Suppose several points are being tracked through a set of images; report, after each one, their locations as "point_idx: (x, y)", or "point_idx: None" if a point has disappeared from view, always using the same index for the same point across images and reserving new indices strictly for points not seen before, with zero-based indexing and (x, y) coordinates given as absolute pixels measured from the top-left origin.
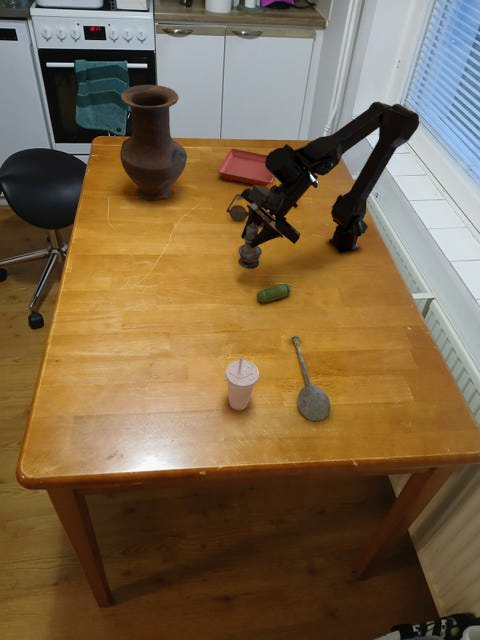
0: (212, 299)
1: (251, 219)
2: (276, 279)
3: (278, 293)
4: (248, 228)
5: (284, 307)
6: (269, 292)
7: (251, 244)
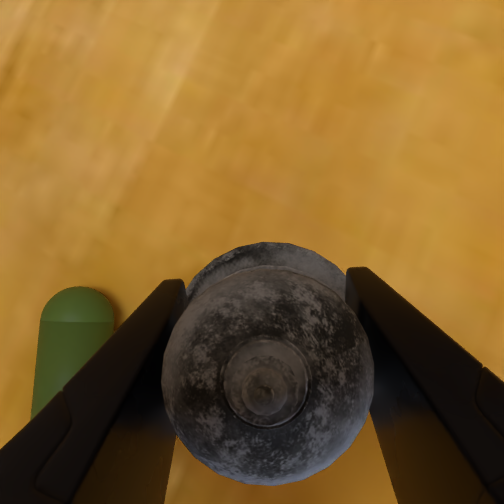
0: (202, 107)
1: (483, 474)
2: (201, 479)
3: (33, 399)
4: (254, 279)
5: (4, 397)
6: (44, 347)
7: (158, 291)
